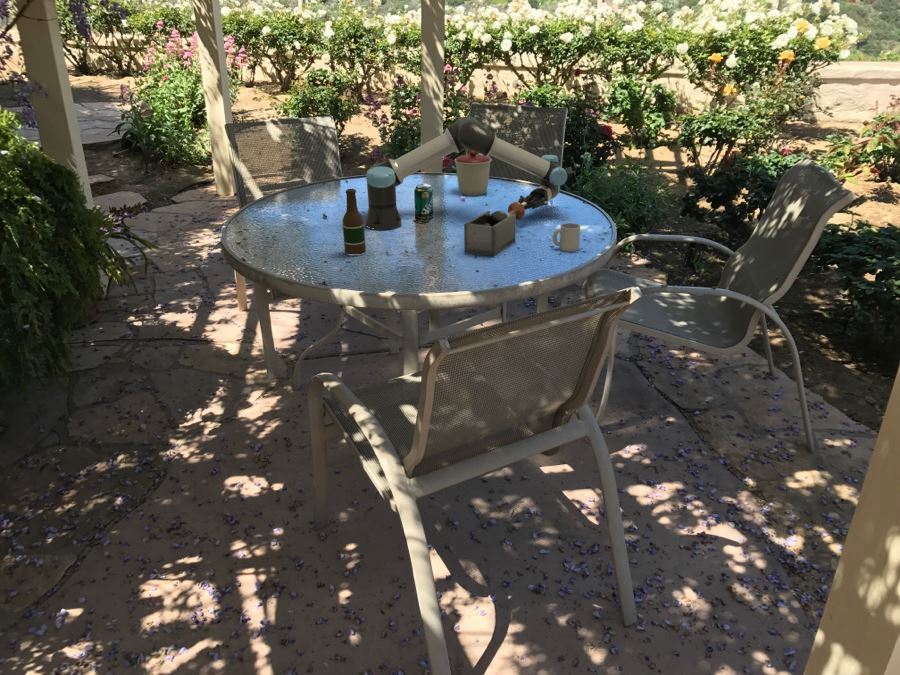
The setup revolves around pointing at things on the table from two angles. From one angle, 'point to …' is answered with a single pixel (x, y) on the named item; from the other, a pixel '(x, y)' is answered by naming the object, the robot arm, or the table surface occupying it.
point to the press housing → (489, 235)
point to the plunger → (512, 209)
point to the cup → (568, 237)
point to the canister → (473, 173)
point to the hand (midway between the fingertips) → (519, 209)
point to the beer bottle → (353, 226)
